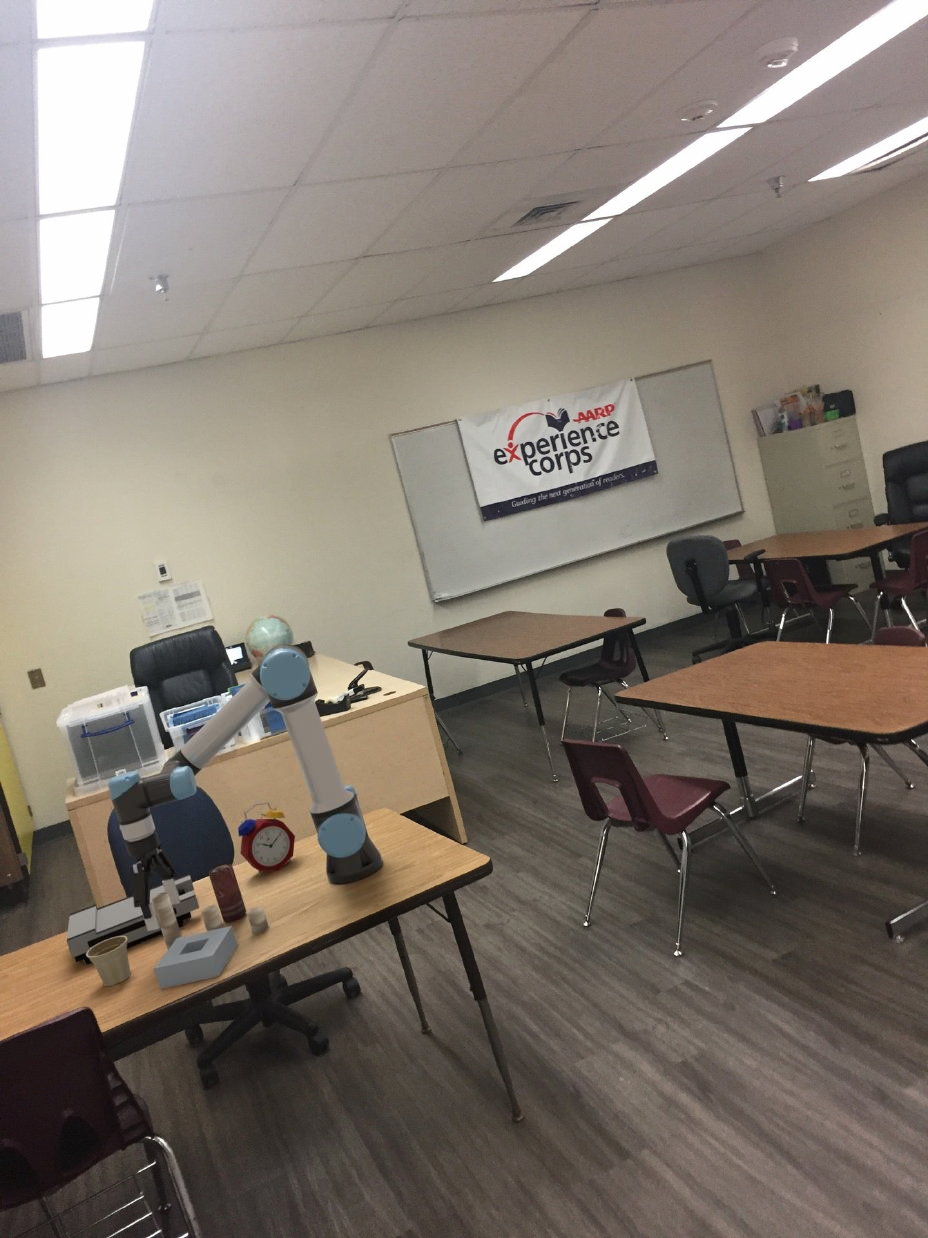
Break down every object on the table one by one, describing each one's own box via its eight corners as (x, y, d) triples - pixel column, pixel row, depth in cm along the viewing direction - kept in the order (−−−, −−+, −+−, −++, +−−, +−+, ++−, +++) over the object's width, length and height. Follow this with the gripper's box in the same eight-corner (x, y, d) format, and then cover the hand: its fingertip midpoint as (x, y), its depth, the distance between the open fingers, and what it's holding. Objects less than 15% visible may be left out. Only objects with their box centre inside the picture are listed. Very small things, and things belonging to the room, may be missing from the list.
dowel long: (187, 942, 229) (170, 891, 228) (181, 951, 225) (164, 898, 224) (171, 946, 230) (155, 894, 228) (165, 954, 226) (148, 901, 224)
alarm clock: (255, 881, 259) (234, 815, 257) (244, 875, 267) (224, 811, 264) (302, 859, 267) (283, 795, 264) (291, 854, 274) (272, 791, 272)
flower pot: (104, 975, 223) (93, 942, 222) (142, 964, 224) (131, 931, 222) (91, 995, 214) (80, 961, 213) (131, 983, 214) (120, 949, 213)
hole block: (237, 945, 220) (231, 925, 219) (219, 976, 206) (212, 955, 205) (182, 957, 221) (176, 938, 221) (160, 989, 207) (154, 968, 207)
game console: (203, 921, 242) (194, 892, 240) (76, 971, 231) (66, 941, 230) (196, 896, 261) (188, 869, 260) (79, 942, 250) (69, 914, 249)
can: (241, 921, 234) (225, 870, 232) (219, 925, 235) (203, 874, 233) (251, 909, 239) (236, 860, 238) (229, 913, 241) (214, 864, 239)
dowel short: (270, 924, 227) (264, 905, 227) (266, 931, 223) (260, 912, 223) (255, 927, 228) (249, 908, 227) (250, 935, 224) (244, 916, 223)
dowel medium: (228, 933, 228) (219, 903, 227) (223, 941, 224) (214, 911, 223) (213, 937, 229) (204, 907, 228) (208, 944, 225) (198, 914, 224)
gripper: (146, 820, 236) (169, 897, 239) (102, 859, 212) (129, 944, 214) (173, 814, 236) (196, 891, 238) (133, 852, 211) (159, 937, 214)
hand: (164, 916), depth 226 cm, fingers open, 13 cm apart
